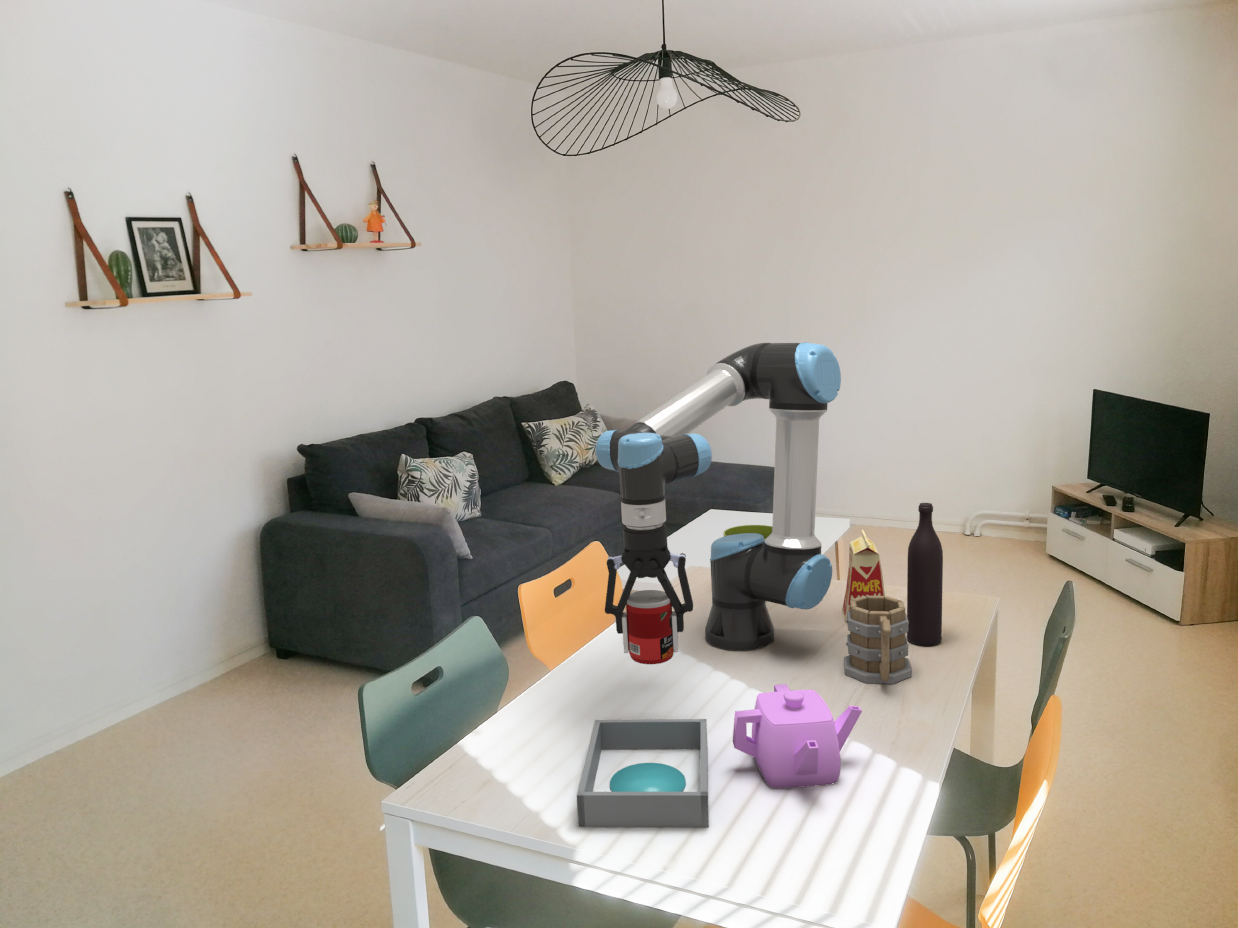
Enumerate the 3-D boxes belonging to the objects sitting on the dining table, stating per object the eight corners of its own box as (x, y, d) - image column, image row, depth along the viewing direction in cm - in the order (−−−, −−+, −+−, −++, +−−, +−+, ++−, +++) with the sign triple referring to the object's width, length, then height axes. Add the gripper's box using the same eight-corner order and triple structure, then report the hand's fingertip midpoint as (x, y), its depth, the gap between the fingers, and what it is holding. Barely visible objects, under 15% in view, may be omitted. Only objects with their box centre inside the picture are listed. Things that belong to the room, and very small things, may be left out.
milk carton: (841, 610, 220) (841, 528, 216) (882, 610, 218) (882, 527, 215) (845, 623, 211) (845, 538, 207) (887, 624, 209) (888, 538, 206)
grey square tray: (596, 746, 160) (594, 719, 159) (707, 746, 158) (706, 718, 157) (578, 826, 136) (576, 795, 136) (708, 826, 135) (707, 795, 134)
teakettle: (777, 731, 162) (775, 664, 160) (867, 759, 151) (867, 688, 149) (721, 772, 150) (719, 700, 148) (816, 806, 139) (815, 729, 137)
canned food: (671, 665, 159) (667, 604, 157) (625, 664, 161) (621, 604, 159) (677, 648, 167) (674, 589, 164) (633, 647, 168) (629, 589, 166)
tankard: (842, 657, 192) (842, 588, 190) (906, 659, 190) (907, 588, 187) (848, 699, 173) (847, 622, 170) (918, 701, 171) (919, 624, 168)
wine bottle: (948, 641, 198) (951, 503, 192) (927, 649, 194) (929, 509, 188) (921, 632, 204) (922, 498, 198) (899, 639, 200) (900, 504, 194)
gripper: (581, 532, 156) (590, 659, 161) (705, 527, 154) (711, 656, 159) (586, 520, 164) (595, 642, 168) (705, 516, 162) (710, 639, 166)
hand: (651, 649), depth 163 cm, fingers closed on canned food, 8 cm apart
